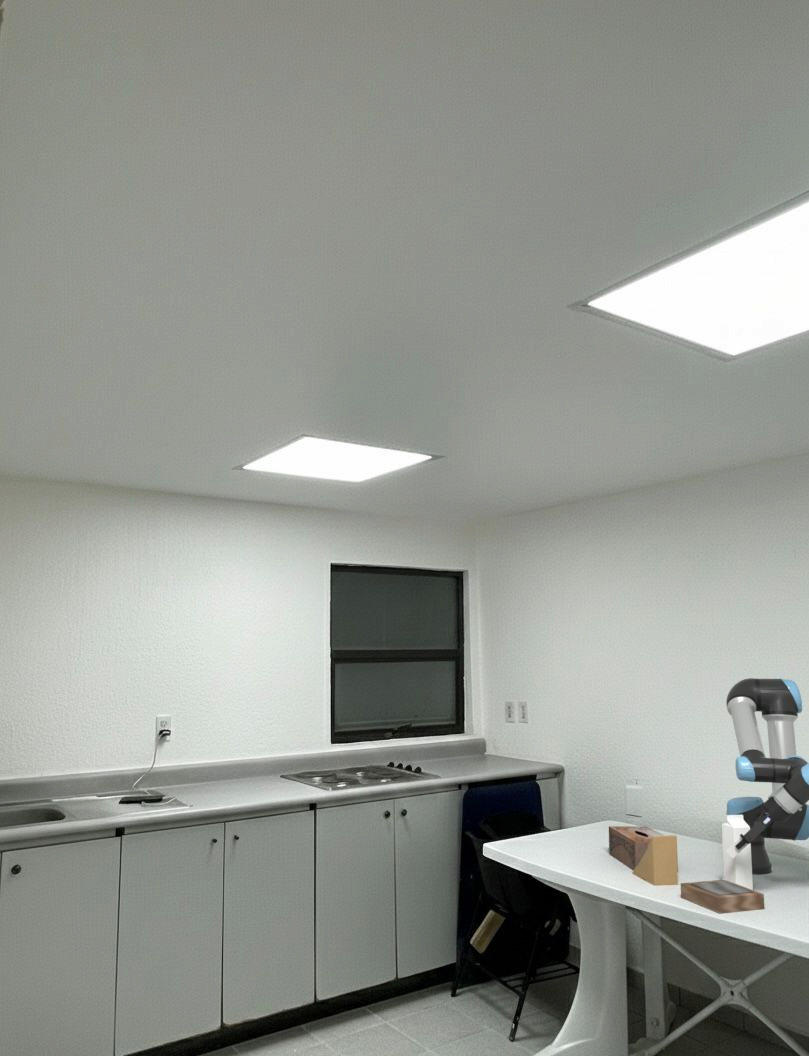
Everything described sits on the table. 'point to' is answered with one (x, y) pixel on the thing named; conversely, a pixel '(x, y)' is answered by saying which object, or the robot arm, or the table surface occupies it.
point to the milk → (741, 864)
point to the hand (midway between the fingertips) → (732, 850)
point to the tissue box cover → (630, 843)
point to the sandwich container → (659, 861)
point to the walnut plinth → (722, 896)
